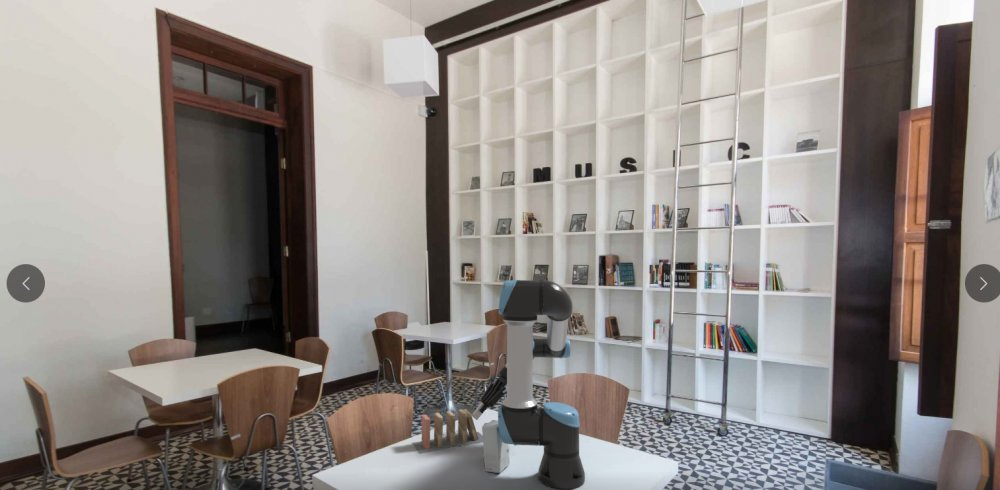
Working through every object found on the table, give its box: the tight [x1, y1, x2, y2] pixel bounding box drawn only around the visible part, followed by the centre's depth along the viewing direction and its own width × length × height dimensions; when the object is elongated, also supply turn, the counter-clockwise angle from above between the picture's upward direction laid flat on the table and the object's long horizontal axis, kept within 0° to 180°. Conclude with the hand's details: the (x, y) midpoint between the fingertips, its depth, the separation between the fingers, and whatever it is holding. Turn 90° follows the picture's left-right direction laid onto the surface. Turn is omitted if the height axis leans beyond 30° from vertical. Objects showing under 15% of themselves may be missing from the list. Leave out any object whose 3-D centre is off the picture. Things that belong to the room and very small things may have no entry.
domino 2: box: [433, 412, 444, 447], centre depth 172 cm, size 2×6×11 cm, turn 25°
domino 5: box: [462, 408, 479, 441], centre depth 177 cm, size 2×6×11 cm, turn 27°
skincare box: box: [481, 419, 510, 474], centre depth 153 cm, size 8×6×15 cm
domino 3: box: [445, 410, 456, 445], centre depth 174 cm, size 2×6×11 cm, turn 25°
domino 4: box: [457, 409, 468, 443], centre depth 176 cm, size 2×6×11 cm, turn 25°
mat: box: [411, 431, 483, 454], centre depth 174 cm, size 28×11×1 cm, turn 115°
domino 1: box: [421, 414, 431, 450], centre depth 169 cm, size 2×6×11 cm, turn 25°
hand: (474, 417), depth 178 cm, fingers closed
